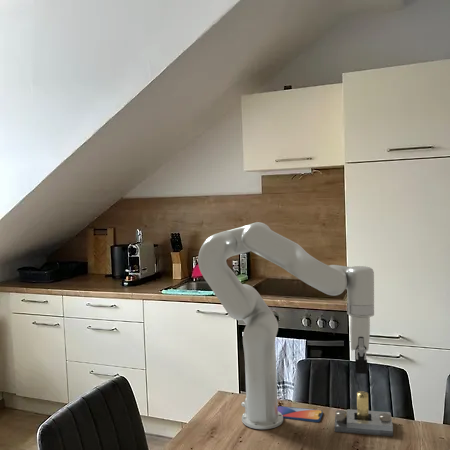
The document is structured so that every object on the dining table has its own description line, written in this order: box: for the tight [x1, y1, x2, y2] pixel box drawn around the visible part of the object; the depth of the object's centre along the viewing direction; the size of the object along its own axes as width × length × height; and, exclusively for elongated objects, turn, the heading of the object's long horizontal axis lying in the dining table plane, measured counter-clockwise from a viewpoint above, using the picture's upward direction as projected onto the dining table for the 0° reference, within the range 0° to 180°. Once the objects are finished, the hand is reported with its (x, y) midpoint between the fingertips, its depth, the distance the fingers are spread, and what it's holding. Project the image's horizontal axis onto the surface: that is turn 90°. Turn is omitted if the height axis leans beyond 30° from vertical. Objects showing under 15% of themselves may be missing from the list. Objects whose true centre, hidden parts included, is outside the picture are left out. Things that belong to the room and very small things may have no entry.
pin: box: [356, 390, 369, 421], centre depth 145 cm, size 3×3×10 cm
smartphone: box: [278, 405, 324, 423], centre depth 155 cm, size 7×15×1 cm, turn 70°
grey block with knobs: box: [334, 408, 394, 437], centre depth 145 cm, size 16×9×4 cm, turn 75°
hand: (361, 367), depth 144 cm, fingers open, 9 cm apart
